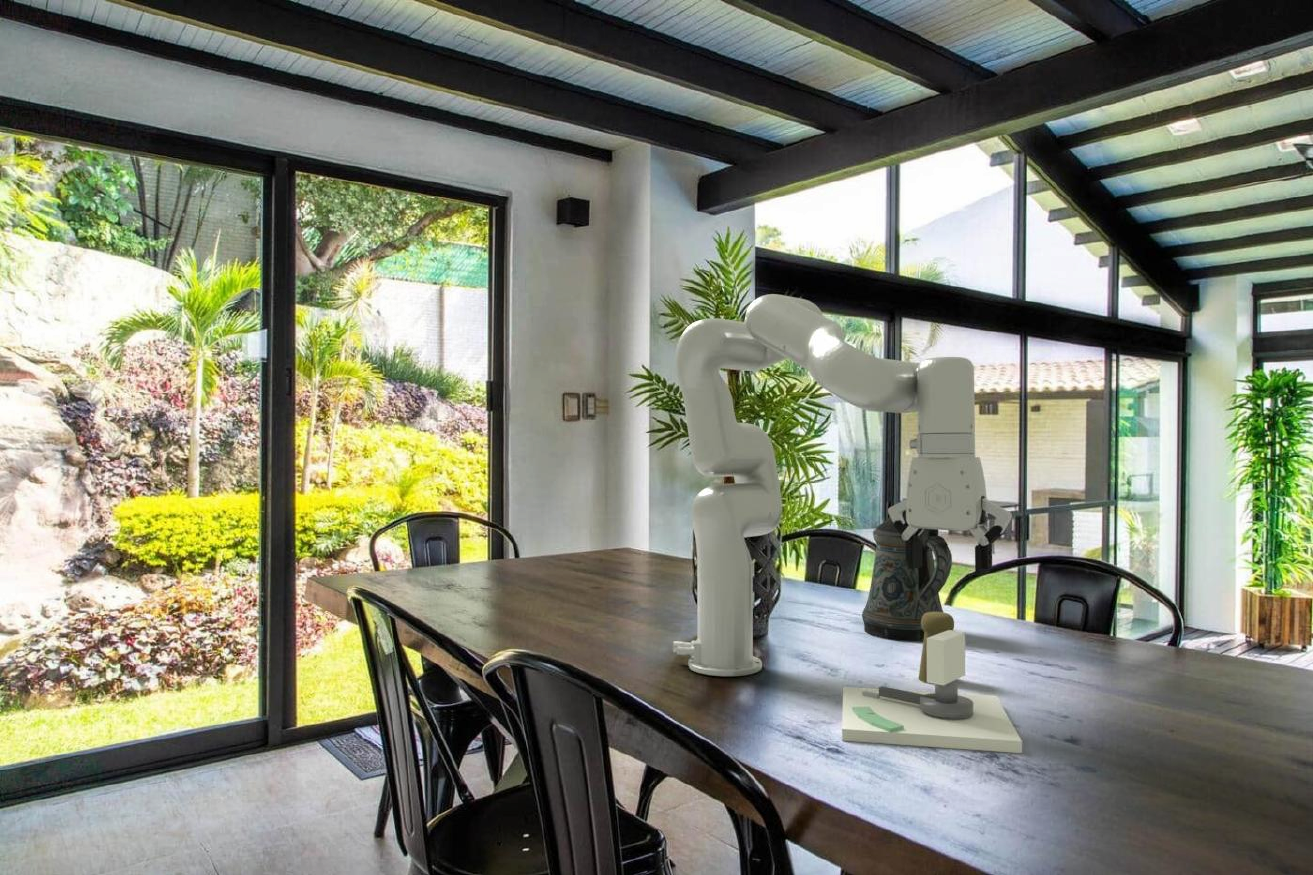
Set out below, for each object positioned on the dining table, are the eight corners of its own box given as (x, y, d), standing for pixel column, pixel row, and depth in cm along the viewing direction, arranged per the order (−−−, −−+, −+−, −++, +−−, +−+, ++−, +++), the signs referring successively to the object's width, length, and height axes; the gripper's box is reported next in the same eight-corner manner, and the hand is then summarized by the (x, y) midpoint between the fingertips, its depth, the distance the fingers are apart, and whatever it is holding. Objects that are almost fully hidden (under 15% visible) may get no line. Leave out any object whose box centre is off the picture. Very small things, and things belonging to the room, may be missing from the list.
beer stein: (880, 620, 190) (879, 505, 190) (971, 632, 179) (971, 509, 179) (849, 634, 177) (848, 510, 177) (945, 647, 165) (945, 515, 165)
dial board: (842, 740, 114) (842, 725, 114) (843, 696, 134) (843, 683, 134) (1022, 753, 109) (1022, 737, 109) (996, 706, 129) (996, 692, 129)
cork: (959, 685, 139) (959, 616, 140) (920, 683, 141) (920, 615, 141) (954, 675, 145) (954, 609, 145) (916, 674, 147) (916, 608, 147)
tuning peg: (981, 710, 121) (981, 634, 121) (960, 722, 116) (960, 643, 116) (891, 691, 130) (891, 621, 130) (868, 701, 125) (868, 628, 125)
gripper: (876, 447, 124) (877, 568, 124) (998, 446, 112) (1000, 580, 112) (901, 447, 130) (902, 563, 129) (1019, 446, 118) (1021, 573, 118)
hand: (947, 571), depth 121 cm, fingers open, 9 cm apart
